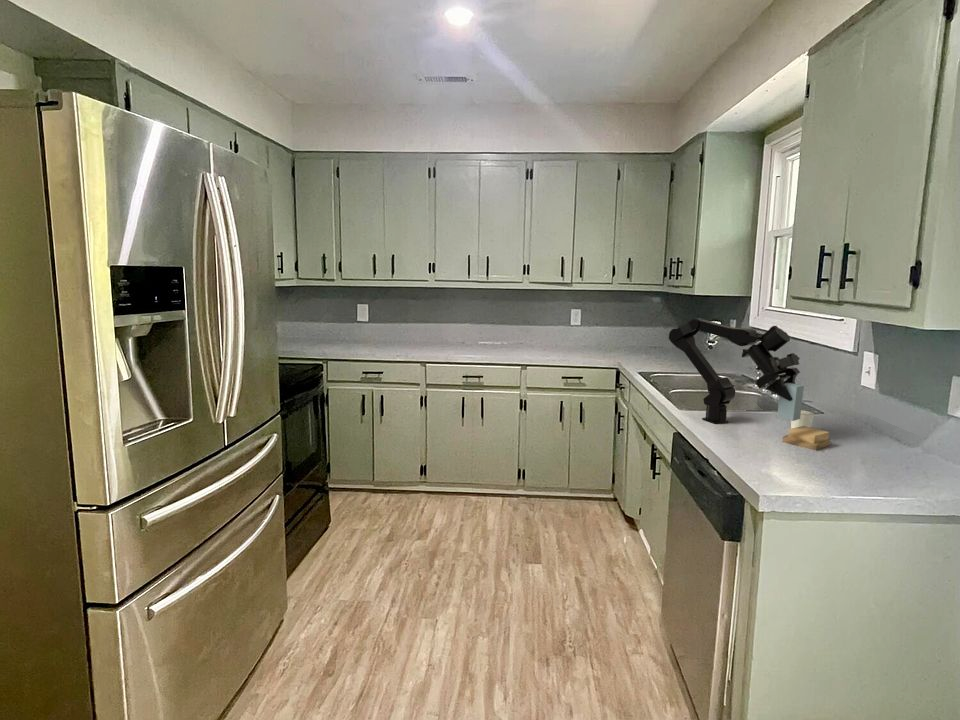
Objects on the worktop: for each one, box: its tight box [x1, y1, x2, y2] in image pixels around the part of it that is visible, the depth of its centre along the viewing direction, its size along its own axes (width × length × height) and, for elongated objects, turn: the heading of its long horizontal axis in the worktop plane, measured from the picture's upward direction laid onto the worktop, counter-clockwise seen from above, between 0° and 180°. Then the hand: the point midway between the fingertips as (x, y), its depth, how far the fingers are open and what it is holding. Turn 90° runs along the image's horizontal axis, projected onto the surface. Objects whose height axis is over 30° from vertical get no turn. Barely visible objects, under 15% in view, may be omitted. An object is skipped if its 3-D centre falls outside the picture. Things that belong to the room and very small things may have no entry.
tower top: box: [788, 426, 830, 443], centre depth 180 cm, size 8×8×2 cm
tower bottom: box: [782, 434, 831, 451], centre depth 181 cm, size 10×10×2 cm
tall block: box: [776, 383, 805, 422], centre depth 184 cm, size 5×5×11 cm
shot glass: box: [790, 409, 815, 429], centre depth 193 cm, size 7×7×7 cm
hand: (795, 399), depth 182 cm, fingers closed on tall block, 5 cm apart
